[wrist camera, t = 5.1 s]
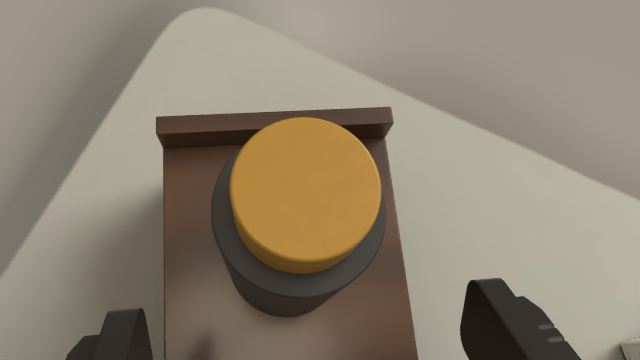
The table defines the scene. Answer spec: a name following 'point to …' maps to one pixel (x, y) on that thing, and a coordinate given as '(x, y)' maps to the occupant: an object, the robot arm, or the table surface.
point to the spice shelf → (213, 276)
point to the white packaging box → (631, 349)
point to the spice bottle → (298, 215)
